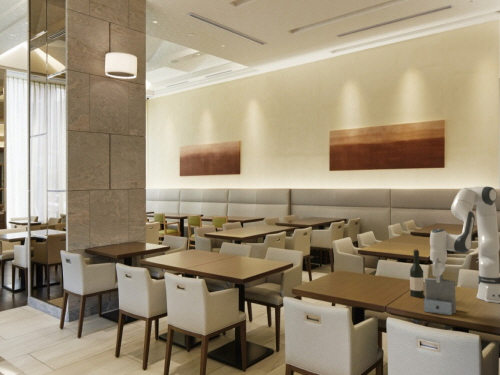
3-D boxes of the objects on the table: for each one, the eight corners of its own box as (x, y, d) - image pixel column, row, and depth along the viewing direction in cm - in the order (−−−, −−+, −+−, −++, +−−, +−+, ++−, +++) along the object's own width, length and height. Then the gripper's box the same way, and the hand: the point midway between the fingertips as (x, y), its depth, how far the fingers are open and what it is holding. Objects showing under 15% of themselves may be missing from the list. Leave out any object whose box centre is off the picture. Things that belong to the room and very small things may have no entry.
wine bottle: (412, 293, 267) (411, 248, 267) (425, 295, 262) (424, 249, 262) (408, 296, 260) (407, 249, 260) (421, 298, 255) (420, 251, 255)
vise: (454, 309, 232) (454, 297, 232) (451, 316, 220) (450, 303, 220) (428, 305, 239) (428, 293, 239) (423, 311, 227) (423, 299, 227)
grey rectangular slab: (424, 309, 233) (424, 274, 232) (426, 307, 236) (425, 273, 236) (455, 313, 224) (454, 277, 224) (456, 311, 227) (455, 276, 227)
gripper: (441, 260, 219) (442, 285, 219) (447, 255, 237) (447, 278, 237) (429, 259, 223) (429, 284, 223) (435, 254, 240) (435, 277, 240)
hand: (438, 281), depth 230 cm, fingers closed on grey rectangular slab, 4 cm apart
